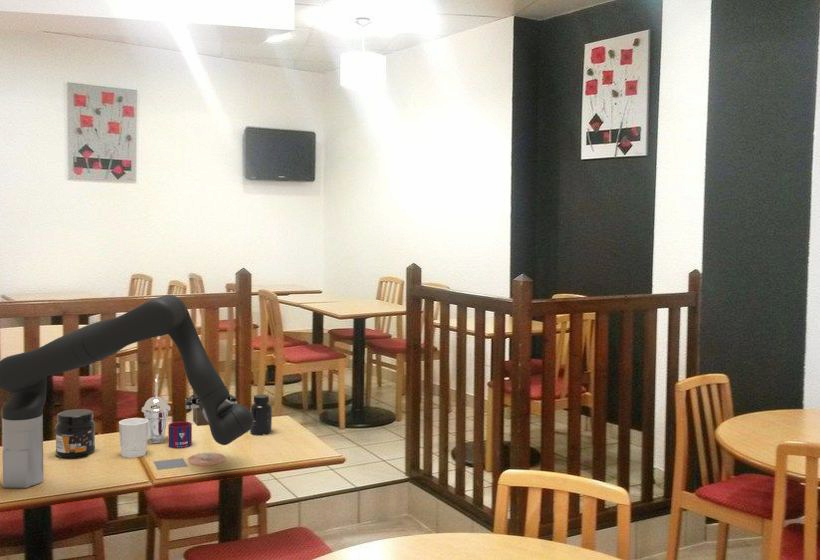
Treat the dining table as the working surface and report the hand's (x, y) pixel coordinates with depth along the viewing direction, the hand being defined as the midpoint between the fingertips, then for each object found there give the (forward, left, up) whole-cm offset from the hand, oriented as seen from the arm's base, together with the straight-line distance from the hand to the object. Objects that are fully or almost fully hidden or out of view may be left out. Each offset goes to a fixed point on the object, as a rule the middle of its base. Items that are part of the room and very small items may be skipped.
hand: (204, 397), depth 219 cm
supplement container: (+4, +38, -18) cm, 42 cm away
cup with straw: (+18, +19, -18) cm, 32 cm away
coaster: (-6, +8, -18) cm, 20 cm away
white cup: (+3, +21, -18) cm, 28 cm away
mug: (+14, +11, -18) cm, 25 cm away
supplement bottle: (+29, -11, -18) cm, 36 cm away
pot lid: (-2, -1, -18) cm, 18 cm away
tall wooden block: (-2, -1, -7) cm, 7 cm away
